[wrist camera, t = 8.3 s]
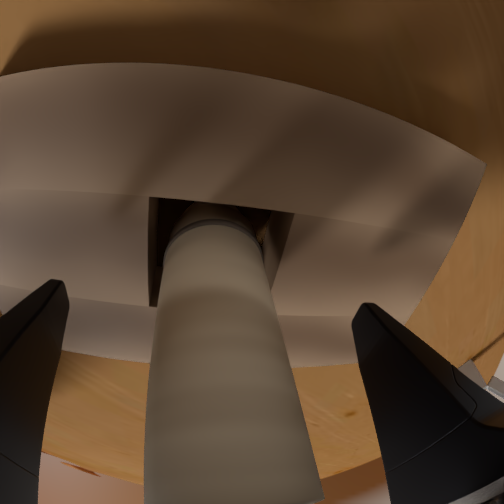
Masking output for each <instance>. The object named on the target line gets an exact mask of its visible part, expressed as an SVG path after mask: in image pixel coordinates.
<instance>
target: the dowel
mask: <svg viewBox="0 0 504 504" xmlns="http://www.w3.org/2000/svg"><path fill="white" fill-rule="evenodd" d="M323 499H325V498H324V494H323V490H322V486H321V482H320V478H319V474H318V470H317V466H316V462H315V458H314V454H313V450H312V446H311V442H310V439H309V435H308V431H307V427H306V423H305V419H304V415H303V411H302V408H301V404H300V400H299V396H298V392H297V388H296V385H295V381H294V377H293V373H292V369H291V366H290V362H289V358H288V354H287V350H286V347H285V343H284V339H283V335H282V332H281V328H280V324H279V320H278V317H277V313H276V309H275V305H274V302H273V298H272V294H271V290H270V287H269V283H268V279H267V276H266V272H265V268H264V261H263V255H262V251H261V248H260V245H259V243H258V241H257V239H256V235H255V232H254V229H253V227H252V224H251V223H250V222H249V220H248V219H247V218H246V217H245V216H244V215H243V214H242V213H240V211H239V210H238V209H237V208H236V207H235V206H234V205H228V204H220V203H211V202H201V201H197V202H195V203H193V204H192V205H191V206H189V207H188V208H187V209H186V210H185V212H184V213H183V215H182V216H181V217H180V218H179V219H178V220H177V221H176V222H175V224H174V225H173V227H172V230H171V233H170V236H169V241H168V245H167V247H166V250H165V254H164V261H163V274H162V280H161V286H160V292H159V299H158V305H157V312H156V319H155V327H154V335H153V343H152V351H151V360H150V370H149V381H148V393H147V406H146V423H145V446H144V504H313V503H316V502H319V501H321V500H323Z"/></svg>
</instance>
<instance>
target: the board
mask: <svg viewBox="0 0 504 504" xmlns="http://www.w3.org/2000/svg"><path fill="white" fill-rule="evenodd" d="M486 166H487V164H486V163H484V162H483V161H481V160H479V159H478V158H476V157H474V156H473V155H471V154H469V153H467V152H466V151H464V150H462V149H460V148H458V147H457V146H455V145H453V144H451V143H449V142H447V141H445V140H443V139H442V138H440V137H438V136H436V135H434V134H432V133H429V132H427V131H425V130H423V129H421V128H419V127H417V126H415V125H412V124H410V123H408V122H406V121H403V120H401V119H399V118H396V117H394V116H391V115H389V114H387V113H384V112H381V111H379V110H376V109H374V108H371V107H368V106H366V105H363V104H360V103H357V102H354V101H351V100H348V99H345V98H342V97H339V96H336V95H333V94H330V93H326V92H323V91H320V90H316V89H313V88H309V87H305V86H302V85H298V84H294V83H290V82H285V81H281V80H277V79H272V78H268V77H263V76H258V75H252V74H247V73H241V72H235V71H229V70H222V69H215V68H207V67H198V66H188V65H177V64H161V63H94V64H79V65H68V66H58V67H50V68H43V69H37V70H30V71H25V72H19V73H14V74H9V75H5V76H1V77H0V310H1V313H2V315H4V314H5V313H7V312H8V311H9V310H10V309H11V308H13V307H14V306H15V305H17V304H18V303H19V302H20V301H22V300H23V299H24V298H26V297H27V296H28V295H29V294H31V293H32V292H33V291H35V290H36V289H37V288H39V287H40V286H41V285H43V284H44V283H46V282H47V281H48V280H50V279H58V280H62V281H63V282H64V283H65V286H66V290H67V294H68V298H69V303H70V308H69V313H68V318H67V323H66V328H65V333H64V338H63V344H62V349H61V350H65V351H70V352H75V353H81V354H86V355H92V356H98V357H105V358H112V359H119V360H127V361H135V362H144V363H150V360H151V351H152V343H153V335H154V327H155V319H156V312H157V305H158V299H159V292H160V286H161V280H162V274H163V267H159V266H157V231H158V210H159V197H161V198H172V199H182V200H192V201H201V202H211V203H220V204H228V205H237V206H245V207H253V208H261V209H268V210H271V214H270V217H269V221H268V225H267V229H266V233H265V237H264V241H263V245H262V249H261V251H262V255H263V261H264V268H265V272H266V276H267V279H268V283H269V287H270V290H271V294H272V298H273V302H274V305H275V309H276V313H277V317H278V320H279V324H280V328H281V332H282V335H283V339H284V343H285V347H286V350H287V354H288V358H289V362H290V366H291V368H294V367H314V366H329V365H342V364H352V363H358V359H357V354H356V348H355V343H354V338H353V333H352V328H351V323H352V320H353V318H354V316H355V314H356V312H357V311H358V309H359V307H360V305H361V304H362V303H365V302H372V303H375V304H377V305H378V306H379V307H380V308H382V309H383V310H384V311H386V312H387V313H388V314H390V315H391V316H392V317H393V318H395V319H396V320H397V321H399V322H400V323H401V324H402V325H405V323H406V322H407V320H408V319H409V317H410V316H411V314H412V313H413V311H414V310H415V308H416V307H417V305H418V304H419V302H420V300H421V299H422V297H423V296H424V294H425V292H426V291H427V289H428V287H429V286H430V284H431V282H432V281H433V279H434V277H435V276H436V274H437V272H438V270H439V268H440V267H441V265H442V263H443V261H444V259H445V258H446V256H447V254H448V252H449V250H450V248H451V246H452V244H453V242H454V240H455V238H456V236H457V234H458V232H459V230H460V228H461V226H462V224H463V222H464V220H465V217H466V215H467V213H468V211H469V208H470V206H471V204H472V201H473V199H474V197H475V194H476V192H477V189H478V187H479V184H480V182H481V179H482V177H483V174H484V171H485V168H486Z"/></svg>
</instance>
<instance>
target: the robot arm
mask: <svg viewBox="0 0 504 504" xmlns="http://www.w3.org/2000/svg"><path fill="white" fill-rule="evenodd" d="M69 308H70V303H69V298H68V294H67V290H66V286H65V283H64V282H63V281H62V280H58V279H50V280H48V281H47V282H46V283H44V284H43V285H41V286H40V287H39V288H37V289H36V290H35V291H33V292H32V293H31V294H29V295H28V296H27V297H26V298H24V299H23V300H22V301H20V302H19V303H18V304H17V305H15V306H14V307H13V308H11V309H10V310H9V311H8V312H7V313H5V314H4V315H3V316H2V317H0V504H38V482H39V468H40V457H41V449H42V441H43V434H44V428H45V422H46V416H47V411H48V406H49V401H50V396H51V391H52V387H53V383H54V378H55V374H56V370H57V366H58V363H59V359H60V355H61V349H62V344H63V338H64V333H65V328H66V323H67V318H68V313H69ZM351 328H352V333H353V338H354V343H355V348H356V354H357V359H358V364H359V368H360V372H361V376H362V379H363V383H364V387H365V390H366V394H367V398H368V402H369V405H370V409H371V413H372V417H373V421H374V425H375V429H376V433H377V438H378V442H379V446H380V451H381V455H382V460H383V464H384V469H385V475H386V479H387V484H388V490H389V496H390V501H391V504H504V403H503V402H501V401H499V400H498V399H497V398H495V397H494V396H492V395H491V394H490V393H489V392H487V391H486V390H484V389H483V388H482V387H480V386H479V385H478V384H476V383H475V382H474V381H472V380H471V379H470V378H468V377H467V376H466V375H465V374H463V373H462V372H461V371H460V370H458V369H457V368H456V367H455V366H453V365H452V364H451V363H450V362H449V361H447V360H446V359H445V358H444V357H442V356H441V355H440V354H439V353H437V352H436V351H435V350H434V349H433V348H431V347H430V346H429V345H428V344H426V343H425V342H424V341H423V340H421V339H420V338H419V337H418V336H416V335H415V334H414V333H412V332H411V331H410V330H409V329H407V328H406V327H405V326H404V325H402V324H401V323H400V322H399V321H397V320H396V319H395V318H393V317H392V316H391V315H390V314H388V313H387V312H386V311H384V310H383V309H382V308H380V307H379V306H378V305H377V304H375V303H372V302H365V303H362V304H361V305H360V307H359V309H358V311H357V312H356V314H355V316H354V318H353V320H352V323H351Z"/></svg>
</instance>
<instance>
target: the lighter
mask: <svg viewBox="0 0 504 504" xmlns="http://www.w3.org/2000/svg"><path fill="white" fill-rule="evenodd" d="M458 370H460V371H461V372H462V373H463V374H465V375H466V376H467V377H468V378H470V379H471V380H472V381H474V382H475V383H476V384H478V385H479V386H480V387H482V388H483V389H484V390H485V389H487V390H489V391H491V392H493V393H494V394H496V395H498V396H500V397H501V398H503V399H504V382H503V381H502V380H500V379H498V378H496V377H494V376H492V378H491V379H490V381H489V383H488V385H486V383H485V381H484V380H483V378H482V376H481V374H480V373H479V371H478V369H477V368H476V366H475V364H474V363H473V361H472V360H471V359H470V360H469V361H467V362H466V363H465V364H463V365H462V366H461V367H459V368H458Z"/></svg>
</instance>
